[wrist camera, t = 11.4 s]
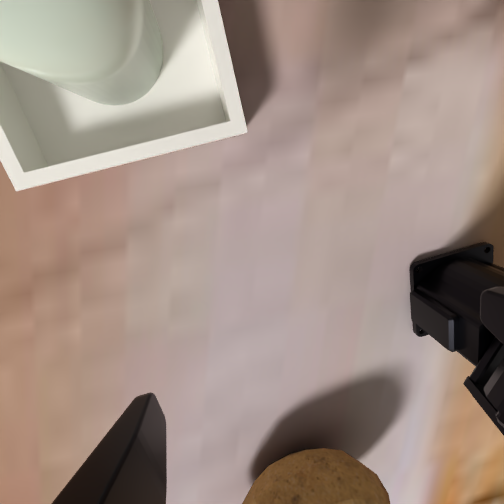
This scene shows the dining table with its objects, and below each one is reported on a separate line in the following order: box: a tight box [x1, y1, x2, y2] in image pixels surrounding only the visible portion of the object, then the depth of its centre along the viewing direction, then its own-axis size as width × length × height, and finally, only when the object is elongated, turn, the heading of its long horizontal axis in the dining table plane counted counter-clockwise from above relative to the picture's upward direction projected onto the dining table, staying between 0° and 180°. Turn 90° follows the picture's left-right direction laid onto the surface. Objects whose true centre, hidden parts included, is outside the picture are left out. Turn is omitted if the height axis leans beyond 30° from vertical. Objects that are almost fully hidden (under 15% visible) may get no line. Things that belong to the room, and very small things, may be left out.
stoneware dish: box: [0, 0, 248, 191], centre depth 14 cm, size 11×11×3 cm
